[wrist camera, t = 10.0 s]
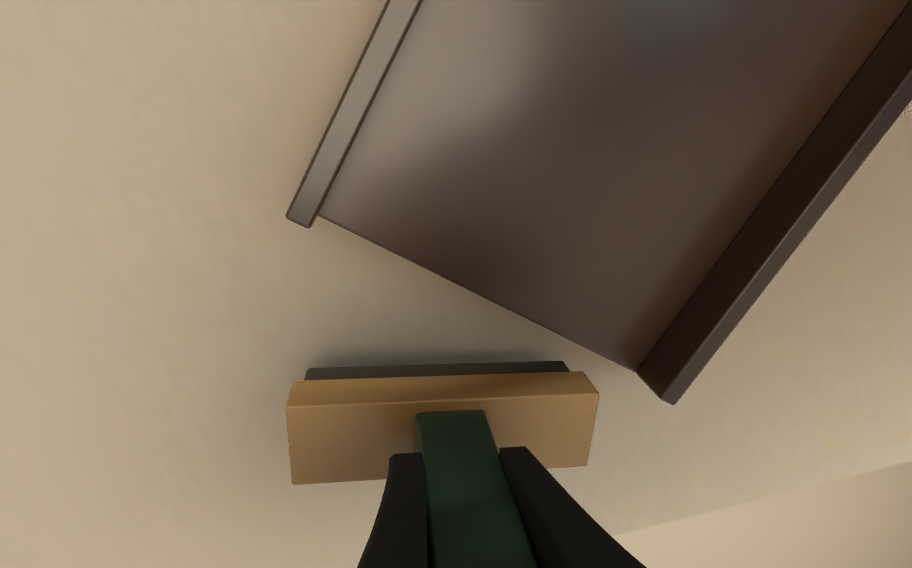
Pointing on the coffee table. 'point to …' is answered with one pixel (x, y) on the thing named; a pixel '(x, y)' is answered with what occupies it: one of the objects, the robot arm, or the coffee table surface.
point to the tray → (610, 155)
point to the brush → (445, 441)
